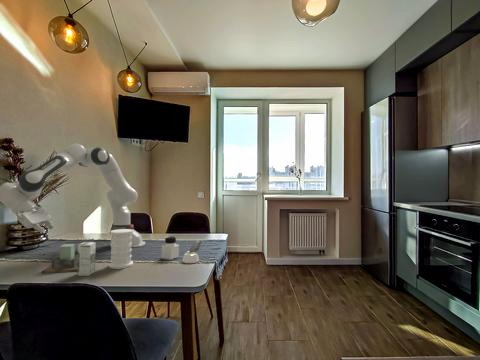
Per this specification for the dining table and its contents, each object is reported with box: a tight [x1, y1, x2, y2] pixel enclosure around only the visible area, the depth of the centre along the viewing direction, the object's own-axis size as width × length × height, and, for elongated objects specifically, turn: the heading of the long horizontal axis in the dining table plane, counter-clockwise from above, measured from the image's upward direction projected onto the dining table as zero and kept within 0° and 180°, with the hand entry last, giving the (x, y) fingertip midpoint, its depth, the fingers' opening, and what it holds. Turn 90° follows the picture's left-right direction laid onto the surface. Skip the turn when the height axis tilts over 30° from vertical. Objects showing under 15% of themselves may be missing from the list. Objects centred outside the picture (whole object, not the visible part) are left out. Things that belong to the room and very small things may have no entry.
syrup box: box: [76, 241, 97, 277], centre depth 136 cm, size 6×6×14 cm
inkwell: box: [182, 239, 202, 264], centre depth 164 cm, size 9×18×10 cm, turn 164°
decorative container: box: [108, 229, 134, 270], centre depth 150 cm, size 12×12×18 cm
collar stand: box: [41, 254, 78, 274], centre depth 146 cm, size 16×16×5 cm
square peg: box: [59, 243, 76, 259], centre depth 146 cm, size 5×5×10 cm
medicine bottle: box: [160, 235, 180, 261], centre depth 166 cm, size 7×7×12 cm
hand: (48, 230), depth 145 cm, fingers open, 8 cm apart
